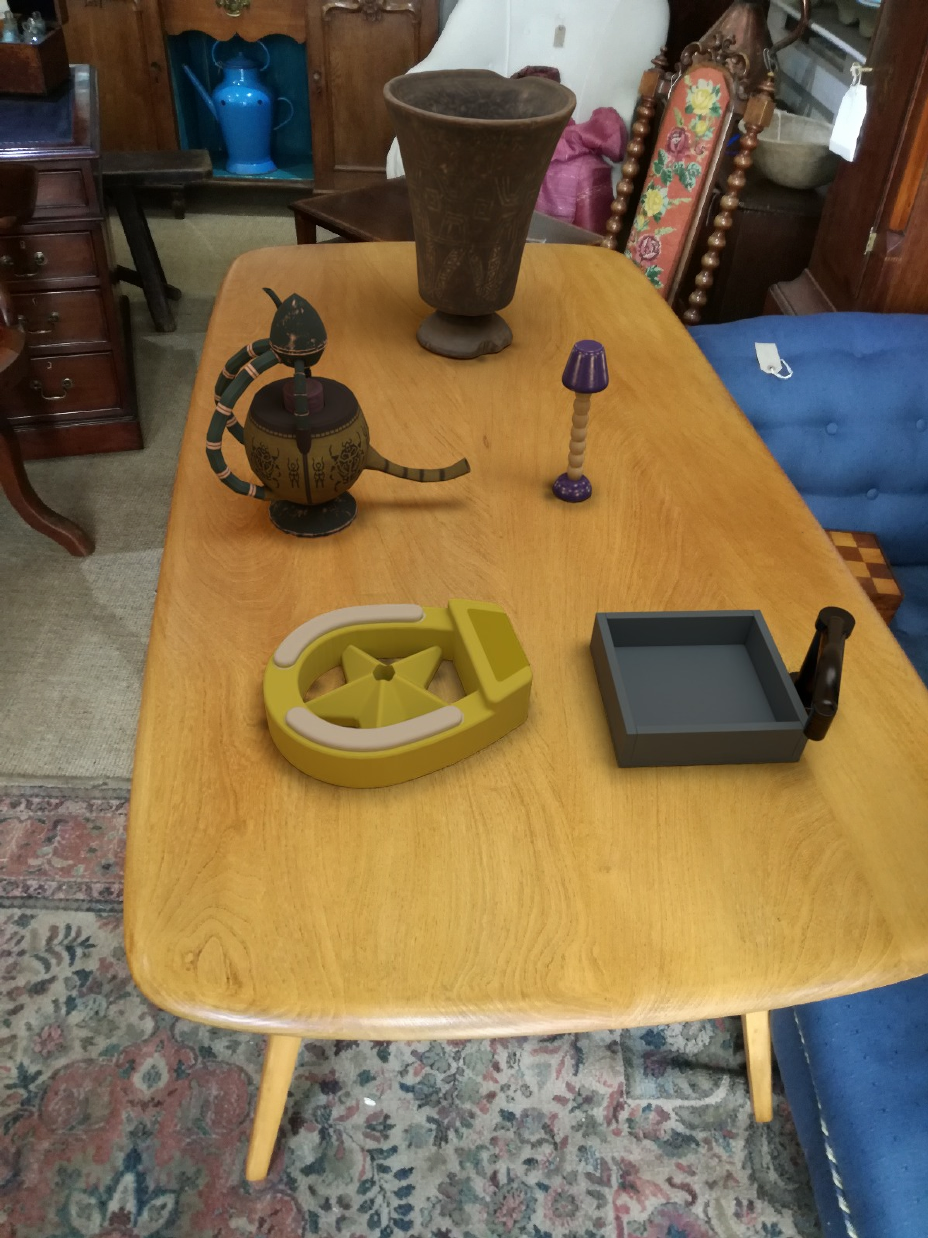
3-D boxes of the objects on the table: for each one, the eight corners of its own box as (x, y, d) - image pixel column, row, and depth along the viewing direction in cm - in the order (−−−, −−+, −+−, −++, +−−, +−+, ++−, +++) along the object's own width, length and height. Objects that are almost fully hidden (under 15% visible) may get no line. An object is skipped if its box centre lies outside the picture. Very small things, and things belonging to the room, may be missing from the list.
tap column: (829, 685, 81) (859, 619, 75) (829, 722, 78) (860, 656, 72) (777, 674, 81) (803, 608, 76) (775, 710, 78) (802, 644, 73)
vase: (352, 336, 125) (342, 84, 104) (461, 290, 137) (471, 56, 116) (475, 396, 114) (490, 130, 94) (580, 341, 126) (614, 94, 106)
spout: (809, 629, 77) (821, 599, 74) (844, 638, 76) (858, 608, 74) (793, 735, 68) (806, 705, 66) (832, 746, 67) (847, 716, 65)
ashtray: (545, 753, 74) (552, 711, 70) (282, 807, 69) (276, 765, 66) (484, 616, 85) (487, 574, 82) (255, 654, 81) (248, 612, 77)
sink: (748, 642, 84) (760, 609, 81) (798, 762, 74) (813, 728, 72) (589, 646, 83) (595, 612, 80) (618, 767, 73) (627, 734, 70)
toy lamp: (541, 493, 100) (558, 348, 89) (558, 472, 103) (577, 329, 92) (582, 506, 98) (605, 361, 87) (598, 485, 102) (622, 342, 90)
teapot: (229, 480, 99) (195, 264, 84) (462, 473, 102) (472, 263, 86) (220, 551, 91) (180, 325, 75) (475, 542, 93) (488, 321, 77)
